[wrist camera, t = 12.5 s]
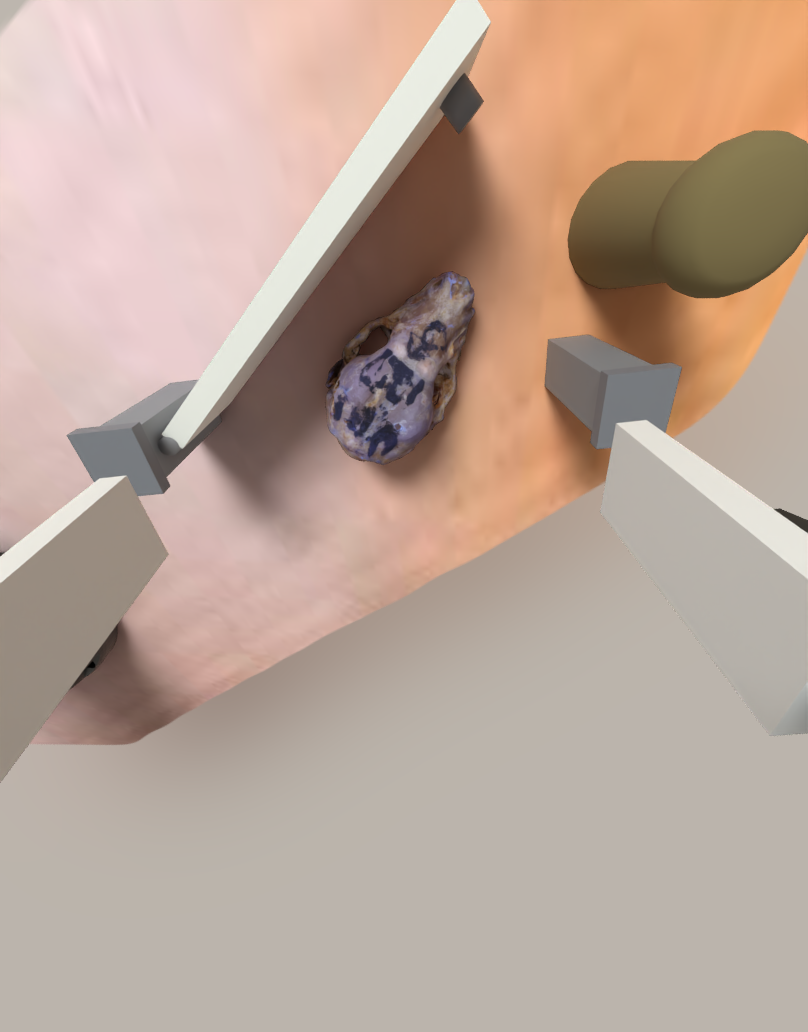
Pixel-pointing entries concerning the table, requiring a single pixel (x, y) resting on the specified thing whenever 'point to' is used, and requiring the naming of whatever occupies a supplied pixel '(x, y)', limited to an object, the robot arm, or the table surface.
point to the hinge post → (138, 441)
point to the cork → (695, 218)
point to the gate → (343, 211)
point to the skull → (401, 373)
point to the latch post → (608, 385)
